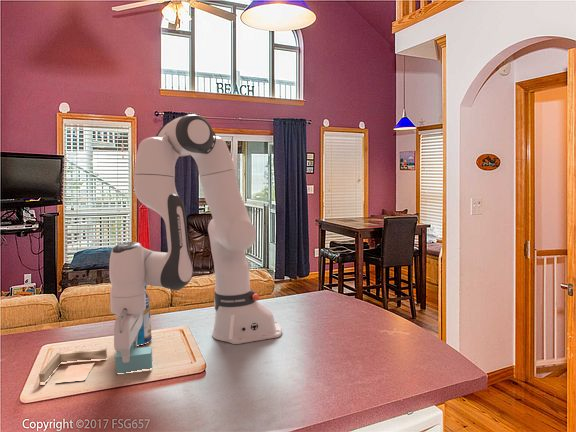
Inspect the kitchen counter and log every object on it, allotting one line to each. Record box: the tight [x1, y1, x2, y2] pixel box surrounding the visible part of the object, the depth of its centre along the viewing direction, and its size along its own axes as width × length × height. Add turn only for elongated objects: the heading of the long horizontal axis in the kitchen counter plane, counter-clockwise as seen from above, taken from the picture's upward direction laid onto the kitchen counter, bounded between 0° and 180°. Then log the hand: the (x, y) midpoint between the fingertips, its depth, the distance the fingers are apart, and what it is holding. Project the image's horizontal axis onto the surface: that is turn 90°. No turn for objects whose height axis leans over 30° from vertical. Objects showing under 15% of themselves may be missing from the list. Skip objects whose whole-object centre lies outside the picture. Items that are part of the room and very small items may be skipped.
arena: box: [38, 348, 108, 383], centre depth 118 cm, size 13×14×3 cm
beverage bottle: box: [137, 285, 153, 345], centre depth 137 cm, size 8×8×20 cm
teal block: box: [114, 346, 154, 374], centre depth 119 cm, size 9×5×5 cm, turn 105°
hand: (130, 354), depth 119 cm, fingers open, 8 cm apart
